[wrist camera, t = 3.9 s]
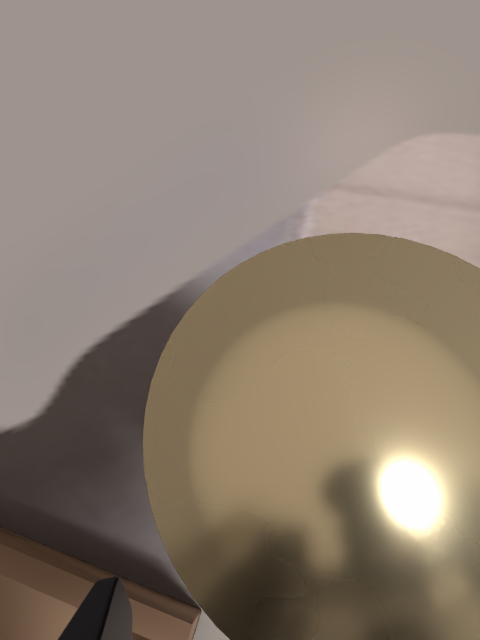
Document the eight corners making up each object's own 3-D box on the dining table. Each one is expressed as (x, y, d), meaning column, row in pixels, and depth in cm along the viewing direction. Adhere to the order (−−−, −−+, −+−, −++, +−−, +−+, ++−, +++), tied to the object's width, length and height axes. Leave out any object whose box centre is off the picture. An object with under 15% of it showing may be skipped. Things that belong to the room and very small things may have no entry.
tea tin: (352, 588, 15) (627, 828, 4) (208, 534, 16) (62, 586, 5) (380, 438, 18) (613, 286, 6) (252, 398, 19) (227, 198, 7)
